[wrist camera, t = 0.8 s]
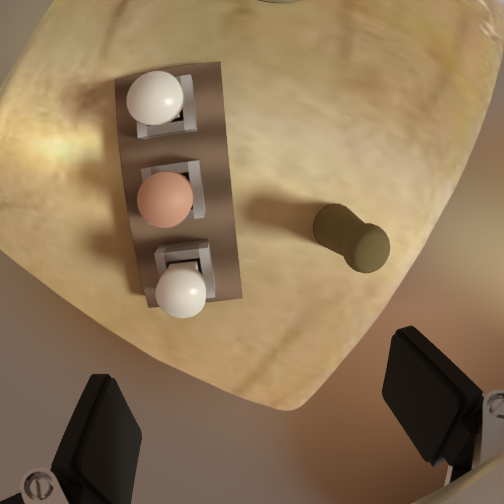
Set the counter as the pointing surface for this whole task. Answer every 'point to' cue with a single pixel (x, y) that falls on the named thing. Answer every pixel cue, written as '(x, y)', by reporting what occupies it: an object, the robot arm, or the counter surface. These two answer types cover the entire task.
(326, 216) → the cork
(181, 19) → the counter surface
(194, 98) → the button board
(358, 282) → the counter surface
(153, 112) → the button near
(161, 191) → the button middle
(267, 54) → the counter surface
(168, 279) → the button far
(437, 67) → the counter surface
